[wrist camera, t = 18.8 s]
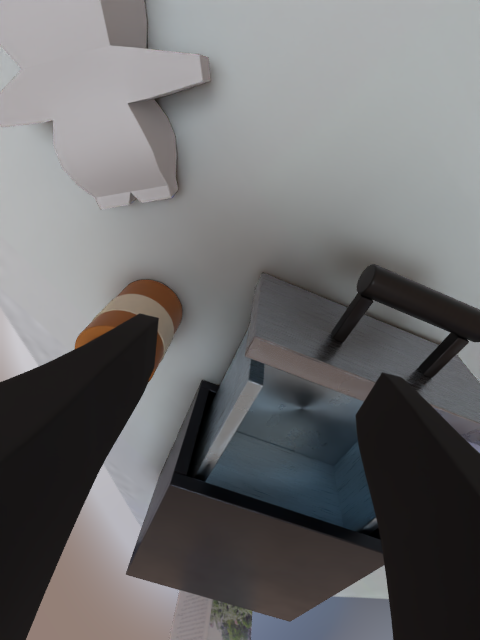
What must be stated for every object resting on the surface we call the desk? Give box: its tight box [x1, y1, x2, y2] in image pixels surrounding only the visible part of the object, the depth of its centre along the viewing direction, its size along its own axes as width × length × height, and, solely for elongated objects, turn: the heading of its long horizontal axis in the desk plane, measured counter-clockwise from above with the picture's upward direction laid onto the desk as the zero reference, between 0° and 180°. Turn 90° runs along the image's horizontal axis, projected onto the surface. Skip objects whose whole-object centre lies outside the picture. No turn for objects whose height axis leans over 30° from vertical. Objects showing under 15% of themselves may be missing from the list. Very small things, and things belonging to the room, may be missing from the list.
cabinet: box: [126, 380, 385, 621], centre depth 25 cm, size 15×15×9 cm
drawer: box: [189, 264, 480, 535], centre depth 19 cm, size 17×13×7 cm
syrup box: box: [169, 590, 252, 640], centre depth 31 cm, size 6×6×14 cm
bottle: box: [75, 280, 182, 382], centre depth 18 cm, size 4×4×8 cm
